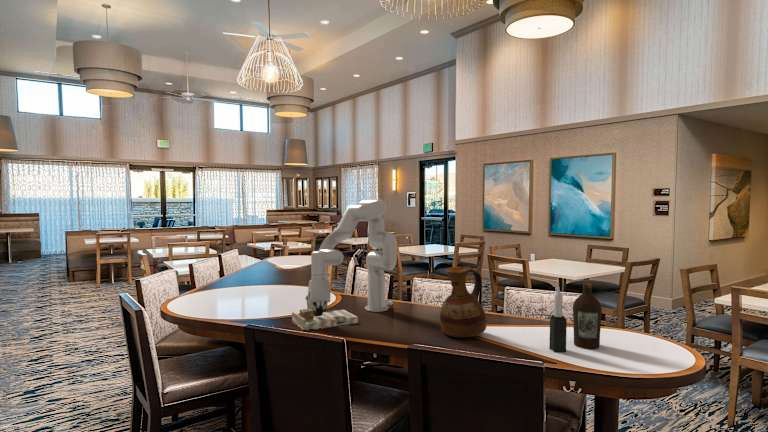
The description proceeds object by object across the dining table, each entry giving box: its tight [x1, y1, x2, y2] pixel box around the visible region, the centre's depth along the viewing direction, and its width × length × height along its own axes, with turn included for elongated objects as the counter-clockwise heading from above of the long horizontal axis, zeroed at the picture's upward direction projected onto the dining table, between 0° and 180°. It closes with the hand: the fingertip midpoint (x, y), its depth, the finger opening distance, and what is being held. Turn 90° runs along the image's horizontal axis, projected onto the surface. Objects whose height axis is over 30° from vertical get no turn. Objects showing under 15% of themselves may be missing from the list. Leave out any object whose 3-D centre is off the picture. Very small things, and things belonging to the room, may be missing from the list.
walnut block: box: [299, 308, 314, 320], centre depth 201 cm, size 5×5×4 cm
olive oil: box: [572, 283, 603, 350], centre depth 173 cm, size 11×11×25 cm
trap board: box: [291, 309, 359, 331], centre depth 205 cm, size 27×16×5 cm, turn 120°
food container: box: [305, 294, 329, 316], centre depth 222 cm, size 12×6×10 cm, turn 84°
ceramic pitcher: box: [439, 266, 487, 338], centre depth 187 cm, size 20×20×30 cm
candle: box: [549, 286, 568, 353], centre depth 167 cm, size 5×5×25 cm
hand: (319, 315), depth 204 cm, fingers closed
